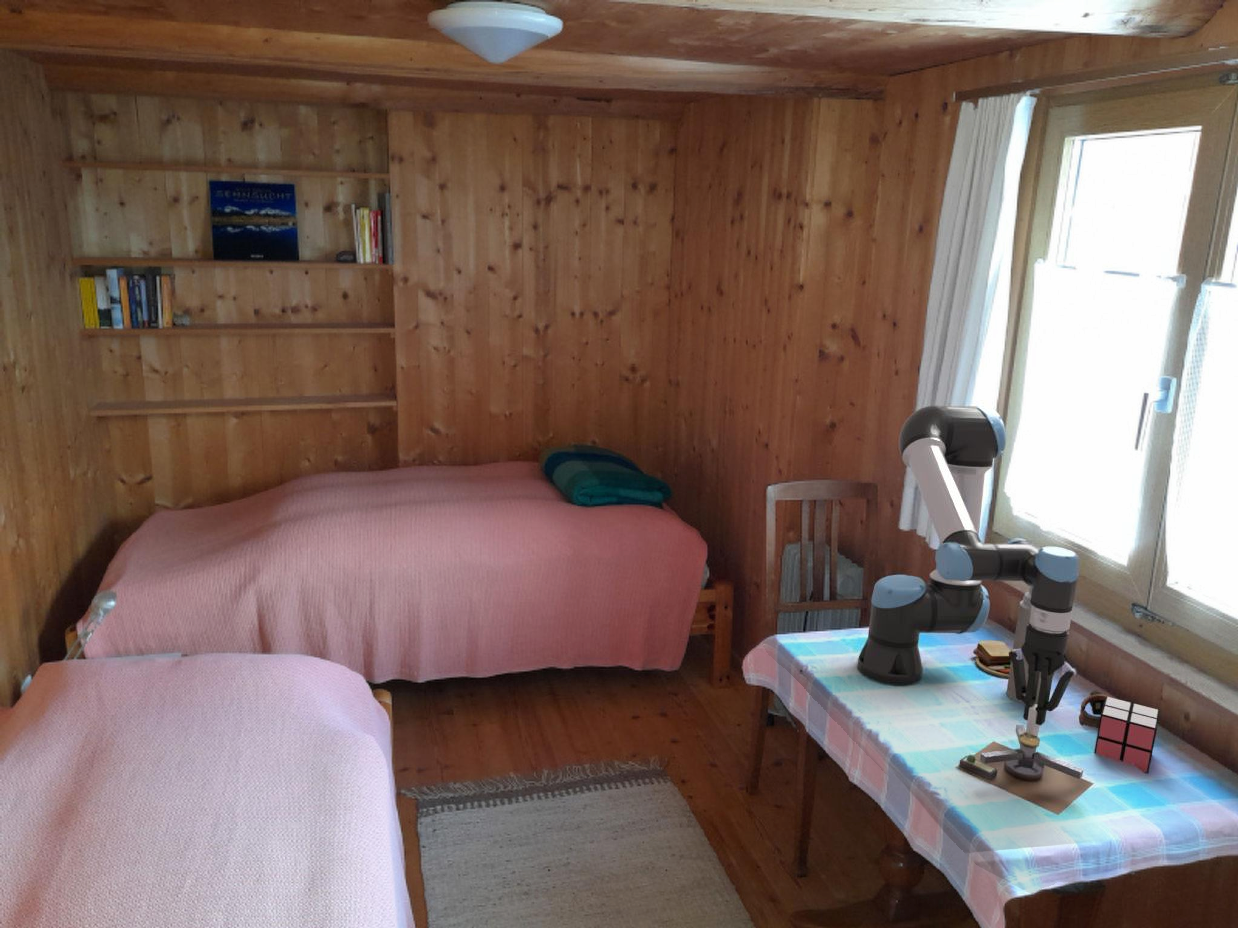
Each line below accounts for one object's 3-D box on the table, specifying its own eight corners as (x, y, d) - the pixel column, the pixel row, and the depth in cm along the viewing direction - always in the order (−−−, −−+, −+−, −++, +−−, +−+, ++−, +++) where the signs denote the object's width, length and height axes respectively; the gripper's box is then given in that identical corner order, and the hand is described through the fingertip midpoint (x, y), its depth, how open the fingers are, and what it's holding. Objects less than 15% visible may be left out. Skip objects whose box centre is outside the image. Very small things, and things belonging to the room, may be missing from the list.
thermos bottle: (1007, 685, 224) (1024, 573, 218) (1043, 693, 221) (1062, 580, 215) (1005, 699, 217) (1022, 584, 211) (1043, 707, 214) (1061, 591, 208)
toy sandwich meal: (987, 679, 228) (990, 661, 227) (965, 655, 241) (967, 638, 240) (1038, 680, 228) (1041, 662, 227) (1013, 656, 242) (1016, 639, 241)
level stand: (954, 772, 186) (957, 754, 185) (992, 746, 196) (995, 729, 196) (1057, 820, 172) (1060, 801, 171) (1092, 788, 182) (1095, 770, 181)
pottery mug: (1138, 740, 202) (1130, 713, 199) (1093, 753, 205) (1084, 726, 201) (1114, 701, 213) (1106, 675, 210) (1072, 714, 215) (1063, 688, 212)
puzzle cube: (1148, 774, 188) (1157, 729, 186) (1092, 758, 193) (1100, 714, 191) (1151, 753, 197) (1159, 709, 194) (1098, 738, 202) (1105, 695, 199)
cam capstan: (1080, 798, 176) (1086, 760, 174) (977, 781, 180) (983, 744, 179) (1064, 756, 191) (1070, 721, 189) (969, 741, 195) (974, 706, 193)
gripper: (1006, 620, 187) (991, 729, 192) (1073, 642, 178) (1055, 755, 183) (1023, 612, 192) (1008, 718, 197) (1089, 632, 183) (1072, 743, 188)
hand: (1031, 736), depth 190 cm, fingers closed
